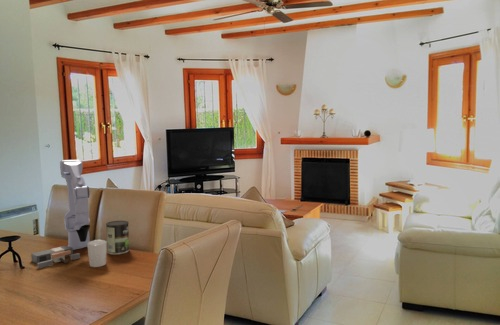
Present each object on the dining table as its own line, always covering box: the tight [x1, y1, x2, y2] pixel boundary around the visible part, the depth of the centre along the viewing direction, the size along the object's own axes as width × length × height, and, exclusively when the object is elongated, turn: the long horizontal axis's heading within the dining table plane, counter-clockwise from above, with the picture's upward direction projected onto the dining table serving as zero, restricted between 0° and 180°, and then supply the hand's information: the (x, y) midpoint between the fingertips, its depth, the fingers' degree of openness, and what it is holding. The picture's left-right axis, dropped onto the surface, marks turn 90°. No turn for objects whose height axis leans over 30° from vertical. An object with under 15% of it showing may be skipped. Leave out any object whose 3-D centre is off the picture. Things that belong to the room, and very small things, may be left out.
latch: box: [51, 250, 71, 258], centre depth 177 cm, size 8×1×2 cm, turn 139°
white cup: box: [87, 239, 107, 268], centre depth 174 cm, size 8×8×10 cm
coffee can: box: [105, 220, 130, 256], centre depth 193 cm, size 10×10×14 cm
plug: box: [50, 246, 69, 264], centre depth 178 cm, size 5×11×5 cm, turn 49°
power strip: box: [30, 244, 81, 270], centre depth 181 cm, size 18×13×4 cm
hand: (83, 241), depth 184 cm, fingers closed
